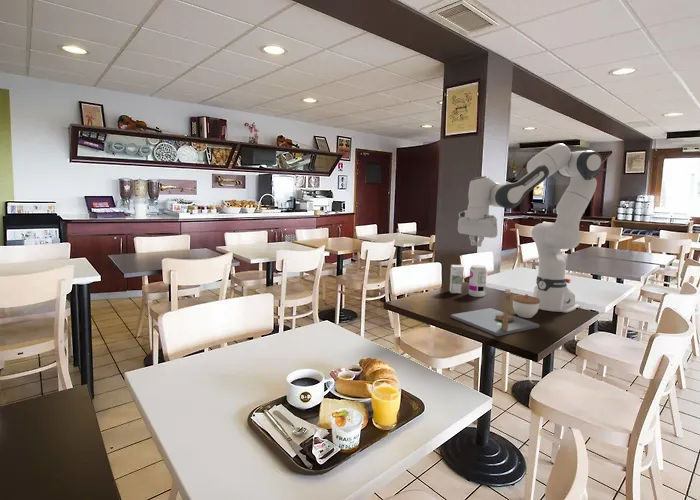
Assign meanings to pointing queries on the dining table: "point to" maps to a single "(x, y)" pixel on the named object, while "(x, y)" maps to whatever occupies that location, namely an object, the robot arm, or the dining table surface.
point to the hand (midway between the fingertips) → (475, 245)
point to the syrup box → (456, 279)
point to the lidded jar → (525, 305)
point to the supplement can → (477, 280)
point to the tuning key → (506, 311)
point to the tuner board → (493, 321)
